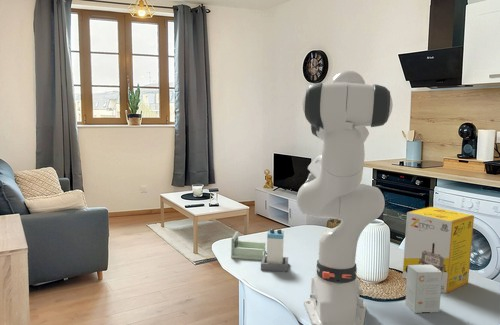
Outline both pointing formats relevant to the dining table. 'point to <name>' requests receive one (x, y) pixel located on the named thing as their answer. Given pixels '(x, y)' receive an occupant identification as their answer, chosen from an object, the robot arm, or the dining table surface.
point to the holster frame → (274, 265)
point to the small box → (423, 288)
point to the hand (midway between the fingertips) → (311, 189)
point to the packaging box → (440, 244)
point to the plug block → (275, 246)
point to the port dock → (247, 249)
